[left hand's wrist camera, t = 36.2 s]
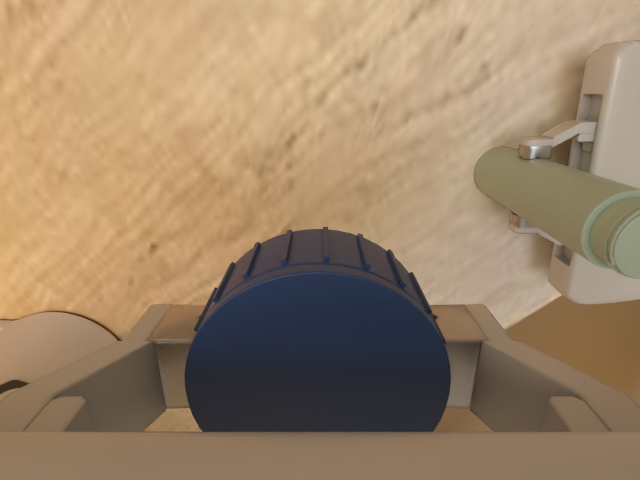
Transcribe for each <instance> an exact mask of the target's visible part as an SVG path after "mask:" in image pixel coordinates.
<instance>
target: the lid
mask: <svg viewBox="0 0 640 480" xmlns="http://www.w3.org/2000/svg"><path fill="white" fill-rule="evenodd" d="M194 331H196V332H197V333H196V335H195V337H194V339H193V341H192V343H191V345H190V349H189V352H188V355H187V359H186V365H185V373H184V375H185V390H186V395H187V400H188V404H189V407H190V409H191V412H192V415H193V417H194V418H195V420H196V422H197V424H198V426H199V427H200V429H201V430H202V432H433V431H434V430H435V428H436V426H437V425H438V423H439V422H440V420H441V418H442V416H443V413H444V411H445V409H446V406H447V402H448V398H449V394H450V385H451V371H450V362H449V358H448V354H447V350H446V348H445V345H444V344H446V341H445V338H444V336H443V334H442V332H441V330H440V328H439V326H438V324H437V322H436V320H435V318H434V316H433V314H432V310H431V308H430V306H429V304H428V302H427V300H426V298H425V296H424V294H423V292H422V290H421V288H420V286H419V284H418V282H417V280H416V278H415V276H414V274H413V273H412V272H411V273H409V272H408V271H407V270H406V269H405V268H404V266H403V265H402V264H401V263H400V262H399V261H398V260H397V259H396V258H395V256H394V254H393V252H392V251H391V250H390V249H389V250H388V251H386V250H385V249H383V248H382V247H380V246H379V245H377V244H375V243H373V242H371V241H369V240H367V239H365V238H363V235H362V234H359V233H358V235H357V236H356V235H353V234H350V233H346V232H341V231H336V230H328V227H323V229H312V230H301V231H295V232H292V230H287V233H286V234H283V235H280V236H276V237H274V238H272V239H269V240H267V241H265V242H263V243H261V244H260V243H259V242H257V243H255V245H254V247H253V249H251V250H250V251H249V252H247V253H246V254H245V255H244V256H242V257H241V258H240V259H239V260H238V261H237V262H236V263H233V262H232V263H231V264H230V265H229V267H228V269H227V271H226V273H225V275H224V277H223V279H222V281H221V283H220V285H219V287H218V288H215V289H214V291H213V293H212V295H211V297H210V299H209V300H208V302H207V304H206V306H205V308H204V310H203V312H202V314H201V316H200V318H199V320H198V322H197V324H196V326H195V328H194Z"/></svg>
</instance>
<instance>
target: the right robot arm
mask: <svg viewBox="0 0 640 480" xmlns="http://www.w3.org/2000/svg"><path fill="white" fill-rule="evenodd" d="M566 140H572V145H571V150H570V156H569V162H568V166H569V167H572V168H575V169H578V170H581V171H585V172H588V173H591V174H594V175H597V176H600V177H603V178H606V179H610V180H613V181H616V182H619V183H622V184H625V185H628V186H632V187H635V188H638V189H640V41H625V42H616V43H610V44H605V45H603V46H601V47H600V48H598V49H597V50H596V51H594V52H593V53H592V54H591V55H590V56H589V57H588V58H587V61H586V65H585V71H584V77H583V82H582V88H581V94H580V100H579V105H578V111H577V117H576V120H565V121H562V122H561V123H559V124H557V125H556V126H554V127H553V128H551V129H549V130H548V131H546V132H545V133H543V134H541V136H534V137H521V138H520V142H519V150H518V157H522V158H523V159H536V158H540V159H550V155H551V150H552V148H553V147H555V146H557V145H559V144H560V143H562V142H564V141H566ZM508 228H509V229H510V230H512V231H513V232H515V233H520V234H523V233H537V234H539V235H540V236H542V237H544V238H546V239H548V240H550V241H552V242H553V243H554V247H553V252H552V258H551V264H550V269H549V274H548V281H549V283H550V284H551V285H552V286H553V287H554V288H555V289H556V290H557V291H558V292H559V293H561V294H562V295H563V296H565V297H566V298H567V299H569V300H570V301H572V302H574V303H577V304H603V303H615V302H624V301H631V300H637V299H640V279H634V278H630V277H626V276H623V275H620V274H618V273H617V272H615V271H614V270H613V269H607V268H602V267H599V266H596V265H595V264H593V263H591V262H590V261H588V260H587V259H585V258H583V257H582V256H580V255H579V254H577V253H576V252H574V251H573V250H571V249H570V248H568V247H566V246H565V245H563V244H562V243H560V242H559V241H557V240H556V239H554V238H552V237H551V236H549V235H548V234H546V233H545V232H543V231H542V230H540V229H539V228H537V227H535V226H534V225H532V224H531V223H529V222H528V221H526V220H525V219H523V218H521V217H520V216H518V215H517V214H515V213H514V212H512V211H511V213H510V219H509V226H508Z"/></svg>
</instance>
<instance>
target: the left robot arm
mask: <svg viewBox="0 0 640 480" xmlns="http://www.w3.org/2000/svg"><path fill="white" fill-rule="evenodd" d="M205 306H206V305H180V304H175V305H173V304H155V305H151V306H150V307H149V308H148V310H147V311H146V312H145V313H144V315H143V316H142V317H141V319H140V320H139V321H138V322H137V324H136V325H135V326H134V327H133V329H132V330H131V331H130V333H129V334H128V335H127V336H126V338H125V339H124V340H123V341H118V340H117V339H116V338H115V337H114V336H113V335H112V334H111V333H109V332H108V331H107V330H105V329H104V328H103V327H101V326H99V325H98V324H96V323H94V322H92V321H90V320H88V319H85V318H83V317H80V316H77V315H73V314H68V313H62V312H42V313H36V314H32V315H29V316H27V317H24V318H21V319H18V320H13V321H11V320H0V480H640V406H639V405H638V404H637V403H636V402H635V401H634V400H633V399H632V398H631V397H630V396H629V395H627V394H625V393H623V392H621V391H619V390H617V389H615V388H613V387H611V386H609V385H607V384H605V383H603V382H601V381H599V380H597V379H595V378H593V377H591V376H589V375H587V374H585V373H583V372H581V371H579V370H577V369H575V368H573V367H571V366H569V365H567V364H565V363H563V362H561V361H559V360H557V359H555V358H552V357H550V356H548V355H546V354H544V353H542V352H540V351H538V350H536V349H534V348H532V347H530V346H528V345H526V344H524V343H522V342H520V341H512V340H511V338H510V337H509V336H508V334H507V333H506V332H505V330H504V329H503V328H502V326H501V325H500V324H499V323H498V321H497V320H496V319H495V317H494V316H493V315H492V313H491V312H490V311H489V310H488V308H487V307H486V306H485V305H483V304H467V305H464V304H463V305H429V306H430V308H431V310H432V314H433V316H434V318H435V320H436V322H437V324H438V326H439V328H440V330H441V332H442V334H443V336H444V338H445V341H446V344H444V345H445V348H446V350H447V354H448V358H449V362H450V371H451V385H450V394H449V398H448V402H447V406H446V408H466V409H470V411H472V412H473V413H474V414H475V415H476V416H477V417H478V418H479V419H481V420H482V421H483V422H484V423H485V424H486V425H487V426H488V427H489V428H490V429H492V430H493V431H494V432H142V431H143V430H144V429H145V428H147V427H148V426H149V425H150V424H151V423H152V422H153V421H154V420H156V419H157V418H158V417H159V416H160V415H161V414H162V413H163V412H165V411H166V410H165V409H170V408H190V407H189V404H188V400H187V395H186V390H185V375H184V373H185V365H186V359H187V355H188V352H189V349H190V345H191V343H192V341H193V339H194V337H195V335H196V333H197V332H196V331H194V328H195V326H196V324H197V322H198V320H199V318H200V316H201V314H202V312H203V310H204V308H205Z"/></svg>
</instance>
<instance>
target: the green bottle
mask: <svg viewBox="0 0 640 480" xmlns="http://www.w3.org/2000/svg"><path fill="white" fill-rule="evenodd" d="M474 181H475V184H476V186H477V187H478V189H479V190H480V191H481V192H483V193H484V194H486V195H487V196H489V197H490V198H492V199H494V200H495V201H497V202H498V203H500V204H501V205H503V206H504V207H506V208H508V209H509V210H511V211H512V212H514V213H515V214H517V215H518V216H520V217H521V218H523V219H525V220H526V221H528V222H529V223H531V224H532V225H534V226H535V227H537V228H539V229H540V230H542V231H543V232H545V233H546V234H548V235H549V236H551V237H552V238H554V239H556V240H557V241H559V242H560V243H562V244H563V245H565V246H566V247H568V248H570V249H571V250H573V251H574V252H576V253H577V254H579V255H580V256H582V257H583V258H585V259H587V260H588V261H590V262H591V263H593V264H595V265H596V266H599V267H602V268H607V269H613V270H614V271H615V272H617V273H618V274H620V275H623V276H626V277H630V278H634V279H640V189H638V188H635V187H632V186H628V185H625V184H622V183H619V182H616V181H613V180H610V179H606V178H603V177H600V176H597V175H594V174H591V173H588V172H585V171H581V170H578V169H575V168H572V167H569V166H566V165H563V164H559V163H556V162H553V161H550V160H547V159H540V158H536V159H523V158H522V157H518V150H515V149H512V148H509V147H497V148H493V149H491V150H489V151H488V152H486V153H485V154H484V155H483V156H482V157H481V158H480V159H479V161H478V162H477V164H476V166H475V170H474Z"/></svg>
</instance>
